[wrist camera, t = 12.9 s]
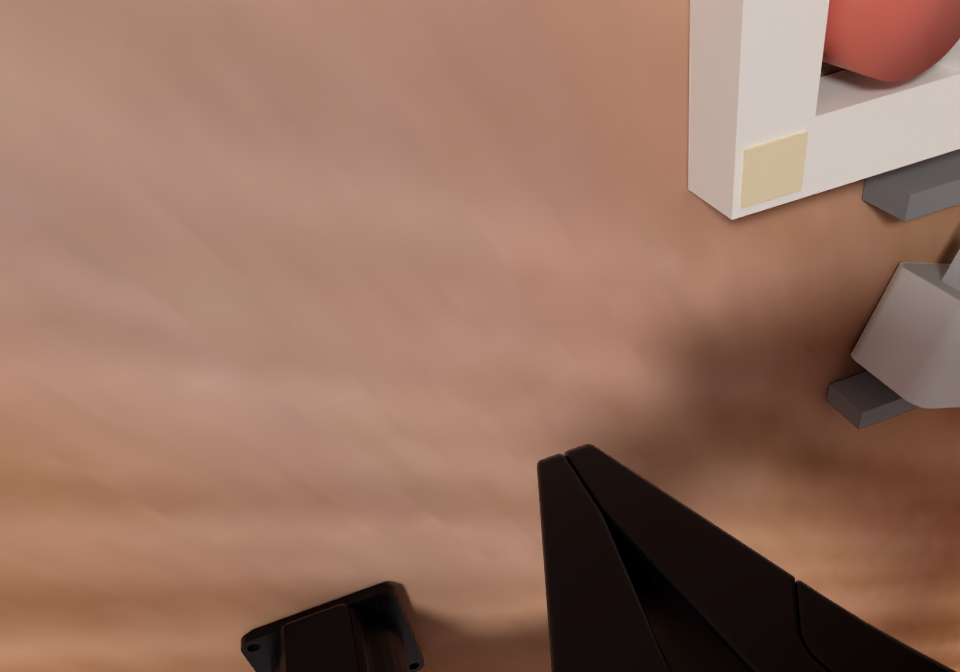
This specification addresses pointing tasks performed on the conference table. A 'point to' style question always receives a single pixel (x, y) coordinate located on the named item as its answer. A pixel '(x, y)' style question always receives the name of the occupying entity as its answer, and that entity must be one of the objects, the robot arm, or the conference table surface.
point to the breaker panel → (799, 108)
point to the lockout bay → (906, 199)
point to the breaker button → (890, 36)
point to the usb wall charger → (917, 335)
